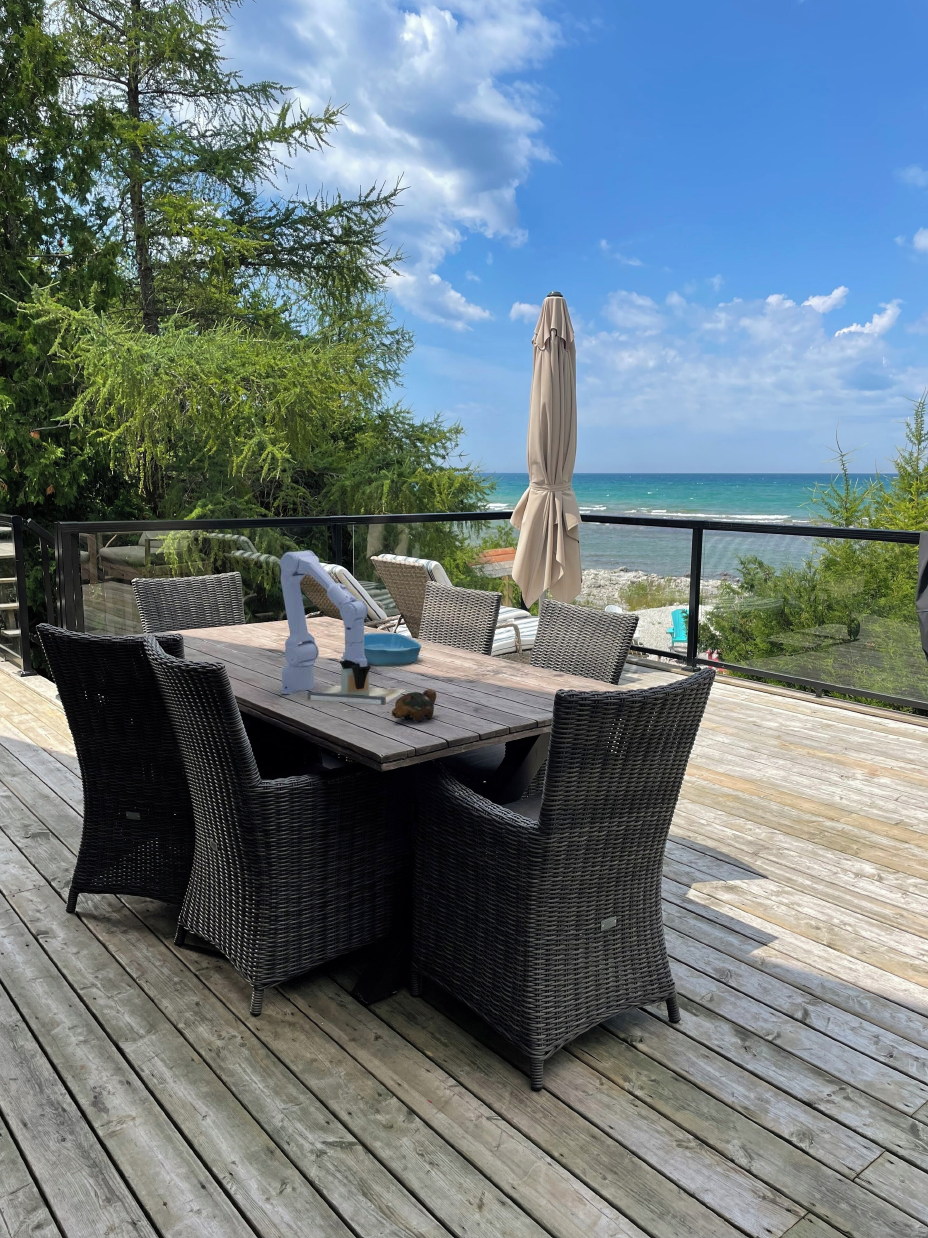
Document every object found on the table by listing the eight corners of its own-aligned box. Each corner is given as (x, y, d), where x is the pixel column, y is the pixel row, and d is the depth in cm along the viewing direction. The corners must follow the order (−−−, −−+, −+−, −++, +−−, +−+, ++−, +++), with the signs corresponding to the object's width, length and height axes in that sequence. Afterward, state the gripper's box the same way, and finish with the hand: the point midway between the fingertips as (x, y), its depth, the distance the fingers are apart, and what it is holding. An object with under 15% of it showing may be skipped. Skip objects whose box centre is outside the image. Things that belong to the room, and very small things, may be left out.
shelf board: (310, 703, 269) (310, 698, 269) (334, 690, 286) (334, 685, 286) (386, 708, 263) (386, 703, 263) (406, 694, 280) (406, 689, 280)
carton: (341, 695, 272) (340, 669, 271) (363, 693, 276) (362, 667, 274) (347, 699, 268) (347, 672, 267) (369, 696, 271) (369, 670, 270)
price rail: (307, 704, 268) (307, 692, 267) (309, 703, 269) (309, 691, 268) (384, 709, 261) (384, 697, 261) (385, 708, 263) (385, 696, 262)
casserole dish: (429, 665, 327) (429, 646, 326) (369, 670, 319) (368, 650, 318) (398, 648, 361) (398, 631, 360) (343, 652, 353) (343, 634, 352)
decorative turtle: (446, 717, 253) (446, 690, 251) (408, 731, 242) (407, 703, 241) (421, 709, 260) (421, 683, 258) (383, 723, 249) (382, 695, 247)
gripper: (333, 638, 274) (334, 682, 276) (350, 646, 261) (351, 692, 263) (355, 637, 277) (355, 680, 279) (373, 644, 264) (374, 689, 266)
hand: (355, 686), depth 271 cm, fingers open, 7 cm apart
